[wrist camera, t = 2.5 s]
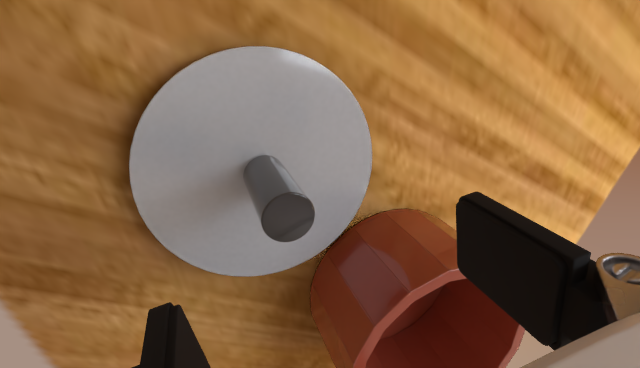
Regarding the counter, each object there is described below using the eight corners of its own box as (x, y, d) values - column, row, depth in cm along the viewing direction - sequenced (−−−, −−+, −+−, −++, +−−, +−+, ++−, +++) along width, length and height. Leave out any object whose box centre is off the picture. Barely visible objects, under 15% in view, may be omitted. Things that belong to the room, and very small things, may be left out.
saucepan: (247, 327, 25) (269, 429, 18) (430, 147, 24) (517, 187, 18) (350, 386, 31) (393, 478, 25) (498, 243, 31) (581, 298, 24)
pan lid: (70, 178, 18) (14, 246, 12) (261, -16, 17) (298, -42, 12) (260, 300, 24) (283, 381, 19) (401, 161, 24) (468, 200, 18)
